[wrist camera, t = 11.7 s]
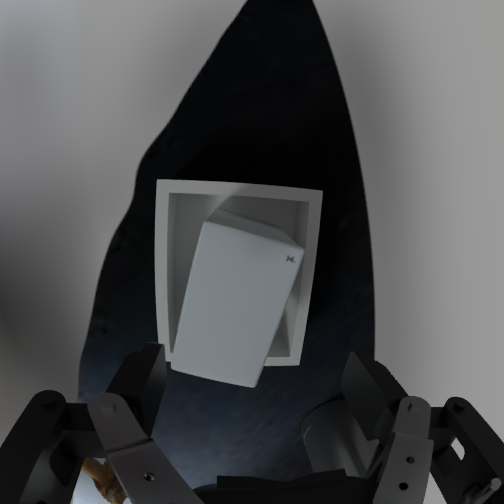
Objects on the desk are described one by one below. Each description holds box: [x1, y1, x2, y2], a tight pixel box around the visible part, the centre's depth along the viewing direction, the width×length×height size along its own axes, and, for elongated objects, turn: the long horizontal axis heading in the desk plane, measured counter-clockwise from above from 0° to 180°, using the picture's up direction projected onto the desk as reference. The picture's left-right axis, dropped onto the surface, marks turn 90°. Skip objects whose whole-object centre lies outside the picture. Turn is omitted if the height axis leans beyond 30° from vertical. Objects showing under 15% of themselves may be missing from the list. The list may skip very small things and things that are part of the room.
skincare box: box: [171, 209, 305, 387], centre depth 22 cm, size 10×6×10 cm, turn 164°
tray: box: [155, 180, 323, 366], centre depth 25 cm, size 13×16×5 cm
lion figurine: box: [81, 457, 128, 504], centre depth 28 cm, size 15×5×9 cm, turn 31°
